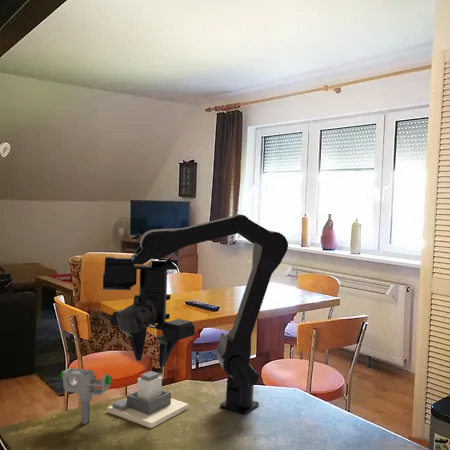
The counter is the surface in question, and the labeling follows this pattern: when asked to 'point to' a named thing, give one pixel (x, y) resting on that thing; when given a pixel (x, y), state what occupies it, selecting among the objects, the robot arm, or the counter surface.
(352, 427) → the counter surface
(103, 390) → the mechanical component
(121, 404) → the board
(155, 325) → the robot arm
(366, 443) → the counter surface
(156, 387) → the plug
